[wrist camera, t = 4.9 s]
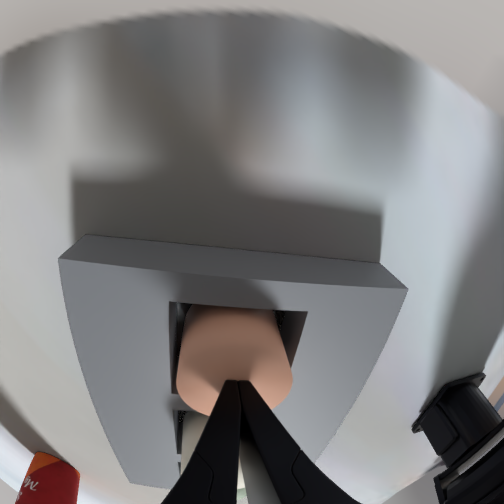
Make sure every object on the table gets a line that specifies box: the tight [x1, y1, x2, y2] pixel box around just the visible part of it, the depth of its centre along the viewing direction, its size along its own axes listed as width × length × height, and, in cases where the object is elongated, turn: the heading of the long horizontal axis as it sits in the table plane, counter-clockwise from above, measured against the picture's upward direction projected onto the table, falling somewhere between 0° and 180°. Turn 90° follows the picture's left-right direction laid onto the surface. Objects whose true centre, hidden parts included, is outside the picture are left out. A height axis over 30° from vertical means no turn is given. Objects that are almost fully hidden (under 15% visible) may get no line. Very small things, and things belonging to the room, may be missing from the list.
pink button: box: [176, 304, 293, 416], centre depth 11 cm, size 4×4×4 cm
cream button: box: [181, 411, 245, 489], centre depth 12 cm, size 4×4×4 cm
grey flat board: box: [58, 235, 408, 489], centre depth 14 cm, size 13×19×2 cm
